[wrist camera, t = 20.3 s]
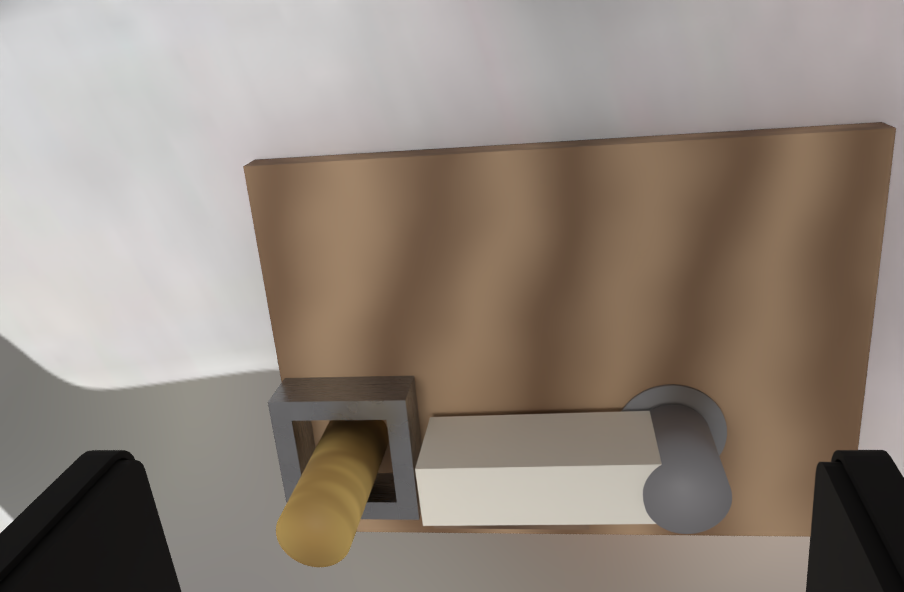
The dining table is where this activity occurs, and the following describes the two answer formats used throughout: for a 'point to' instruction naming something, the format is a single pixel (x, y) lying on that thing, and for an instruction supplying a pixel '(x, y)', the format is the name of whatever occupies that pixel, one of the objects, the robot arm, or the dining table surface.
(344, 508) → the pin
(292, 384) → the collar
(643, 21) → the dining table surface
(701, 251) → the board
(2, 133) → the dining table surface
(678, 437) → the handle
